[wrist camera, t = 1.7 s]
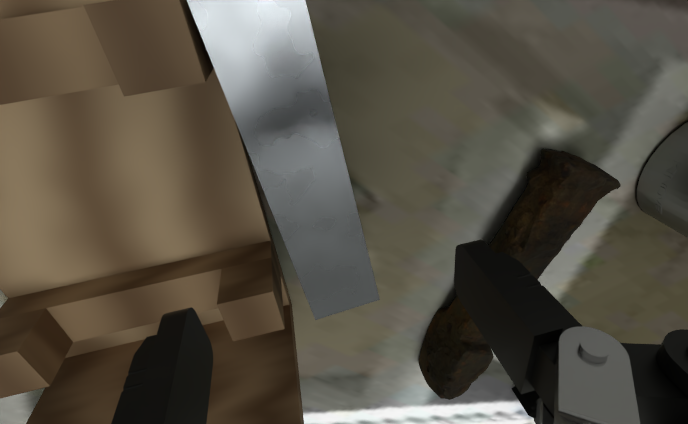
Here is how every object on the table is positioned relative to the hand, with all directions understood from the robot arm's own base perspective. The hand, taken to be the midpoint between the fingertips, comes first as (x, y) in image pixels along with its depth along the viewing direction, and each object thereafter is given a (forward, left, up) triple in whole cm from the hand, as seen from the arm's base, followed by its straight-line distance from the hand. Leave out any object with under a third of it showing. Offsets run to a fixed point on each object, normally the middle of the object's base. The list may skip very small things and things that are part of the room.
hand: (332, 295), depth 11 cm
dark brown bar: (-13, +14, -14) cm, 24 cm away
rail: (0, 0, -13) cm, 13 cm away
